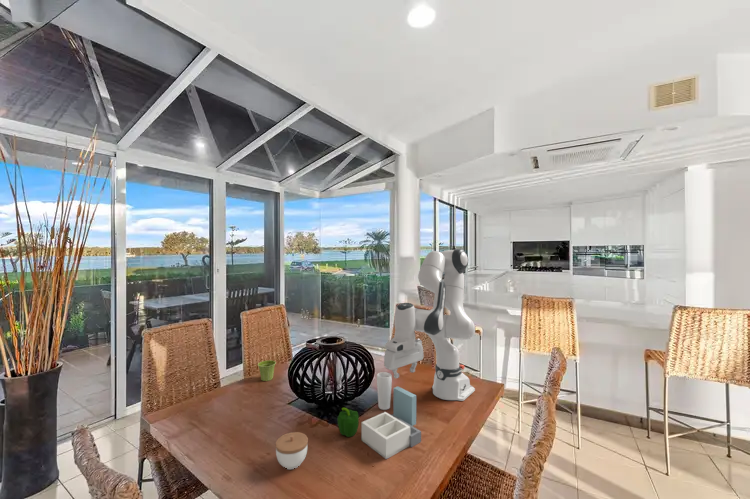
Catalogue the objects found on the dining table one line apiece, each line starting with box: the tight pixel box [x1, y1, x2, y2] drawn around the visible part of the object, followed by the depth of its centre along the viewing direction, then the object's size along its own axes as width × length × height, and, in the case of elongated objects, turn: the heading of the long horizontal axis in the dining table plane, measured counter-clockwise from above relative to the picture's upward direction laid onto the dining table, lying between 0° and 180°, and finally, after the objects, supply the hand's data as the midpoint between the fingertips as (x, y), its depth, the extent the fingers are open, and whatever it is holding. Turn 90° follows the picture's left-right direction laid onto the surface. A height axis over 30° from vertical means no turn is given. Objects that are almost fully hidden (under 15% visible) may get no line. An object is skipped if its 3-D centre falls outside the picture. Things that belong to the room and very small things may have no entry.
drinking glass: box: [376, 371, 393, 411], centre depth 149 cm, size 7×7×15 cm
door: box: [392, 385, 417, 427], centre depth 139 cm, size 3×11×12 cm, turn 40°
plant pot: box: [257, 359, 277, 382], centre depth 180 cm, size 9×9×9 cm
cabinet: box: [361, 411, 422, 460], centre depth 125 cm, size 17×16×7 cm
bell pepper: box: [337, 407, 360, 438], centre depth 129 cm, size 8×8×10 cm
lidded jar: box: [274, 431, 309, 470], centre depth 112 cm, size 11×11×9 cm
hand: (404, 374), depth 139 cm, fingers open, 8 cm apart
